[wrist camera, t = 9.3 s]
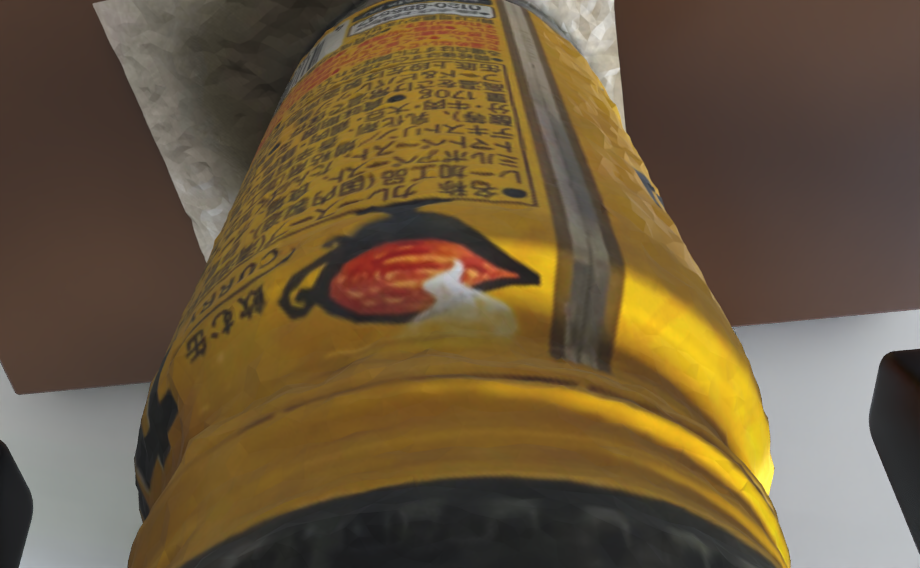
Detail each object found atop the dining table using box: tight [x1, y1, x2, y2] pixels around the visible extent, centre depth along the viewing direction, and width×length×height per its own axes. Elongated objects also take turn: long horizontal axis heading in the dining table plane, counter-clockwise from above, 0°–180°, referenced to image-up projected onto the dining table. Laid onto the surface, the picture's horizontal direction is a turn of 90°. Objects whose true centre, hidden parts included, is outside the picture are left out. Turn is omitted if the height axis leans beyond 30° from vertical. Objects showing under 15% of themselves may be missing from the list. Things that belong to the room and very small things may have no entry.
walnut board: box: [0, 0, 920, 395], centre depth 16 cm, size 10×20×2 cm, turn 96°
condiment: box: [93, 0, 791, 568], centre depth 10 cm, size 7×8×12 cm
